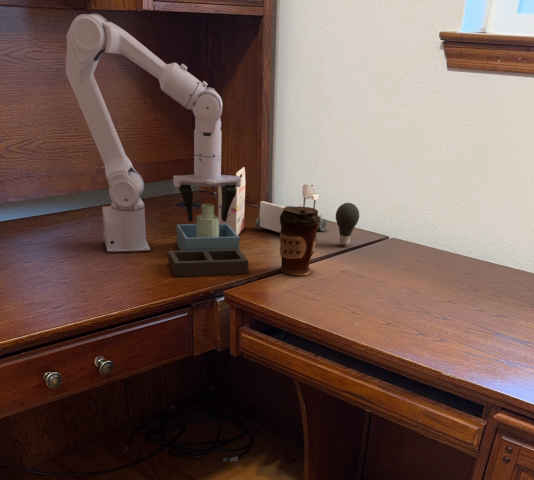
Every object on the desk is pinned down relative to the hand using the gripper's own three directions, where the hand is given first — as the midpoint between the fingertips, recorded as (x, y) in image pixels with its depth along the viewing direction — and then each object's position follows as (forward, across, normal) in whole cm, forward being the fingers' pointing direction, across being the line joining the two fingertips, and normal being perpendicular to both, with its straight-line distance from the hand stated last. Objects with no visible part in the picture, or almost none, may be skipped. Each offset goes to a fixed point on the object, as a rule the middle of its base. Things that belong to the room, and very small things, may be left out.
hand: (207, 220), depth 150 cm
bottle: (+6, 0, 0) cm, 6 cm away
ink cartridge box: (+7, +9, +14) cm, 18 cm away
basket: (+7, 0, 0) cm, 7 cm away
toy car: (+7, +26, +16) cm, 31 cm away
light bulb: (+7, +34, 0) cm, 35 cm away
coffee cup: (+7, +16, -16) cm, 24 cm away
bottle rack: (+7, -2, -12) cm, 14 cm away
